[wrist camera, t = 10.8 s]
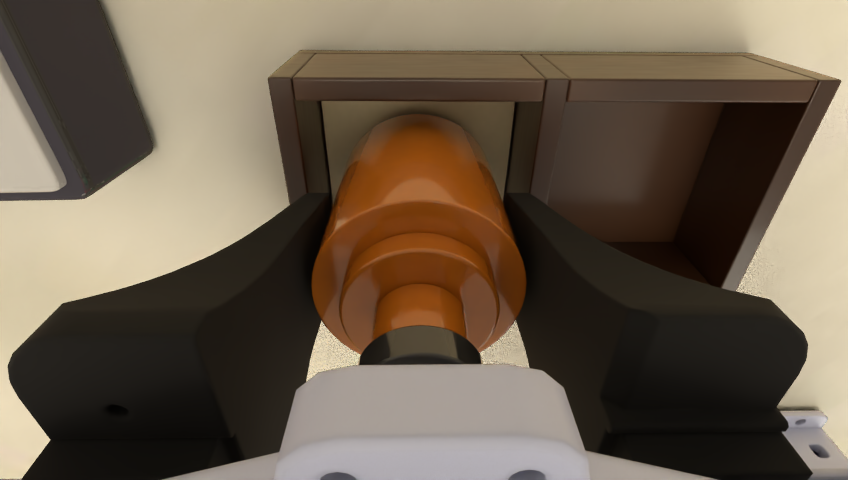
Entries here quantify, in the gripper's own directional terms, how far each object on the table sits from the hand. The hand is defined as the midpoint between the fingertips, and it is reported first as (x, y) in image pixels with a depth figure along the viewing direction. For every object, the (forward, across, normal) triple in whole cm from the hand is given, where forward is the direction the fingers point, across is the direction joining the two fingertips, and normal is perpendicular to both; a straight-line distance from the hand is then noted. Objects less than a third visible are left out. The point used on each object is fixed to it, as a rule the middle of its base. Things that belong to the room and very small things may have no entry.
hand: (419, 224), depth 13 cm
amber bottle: (+2, 0, 0) cm, 2 cm away
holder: (+4, -4, 0) cm, 6 cm away
